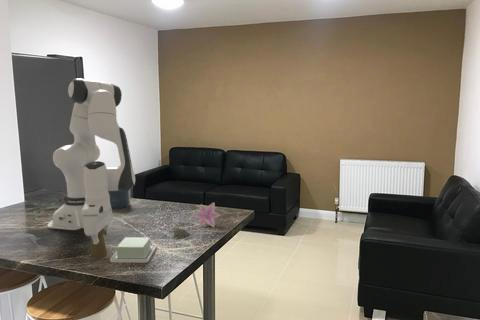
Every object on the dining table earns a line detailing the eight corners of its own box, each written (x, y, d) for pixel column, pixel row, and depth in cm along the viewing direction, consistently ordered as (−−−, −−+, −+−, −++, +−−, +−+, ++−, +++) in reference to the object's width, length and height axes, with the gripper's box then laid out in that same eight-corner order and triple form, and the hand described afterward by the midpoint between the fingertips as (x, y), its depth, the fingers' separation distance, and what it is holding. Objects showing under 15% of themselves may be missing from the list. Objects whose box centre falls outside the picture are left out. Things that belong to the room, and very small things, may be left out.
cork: (93, 251, 154) (91, 225, 153) (108, 251, 155) (107, 224, 153) (88, 258, 148) (86, 230, 147) (104, 257, 149) (103, 230, 147)
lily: (189, 225, 188) (189, 212, 182) (203, 211, 196) (203, 197, 190) (210, 236, 184) (211, 223, 178) (223, 221, 192) (224, 207, 186)
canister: (126, 209, 212) (124, 177, 209) (102, 209, 212) (100, 177, 209) (133, 202, 224) (131, 172, 222) (110, 202, 225) (109, 172, 222)
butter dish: (110, 262, 145) (109, 249, 144) (122, 247, 158) (121, 235, 158) (147, 262, 144) (147, 249, 143) (156, 247, 158) (156, 235, 157)
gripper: (99, 197, 159) (102, 230, 161) (78, 212, 139) (82, 249, 141) (115, 197, 159) (117, 229, 161) (96, 212, 139) (99, 248, 141)
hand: (100, 239), depth 151 cm, fingers open, 8 cm apart
